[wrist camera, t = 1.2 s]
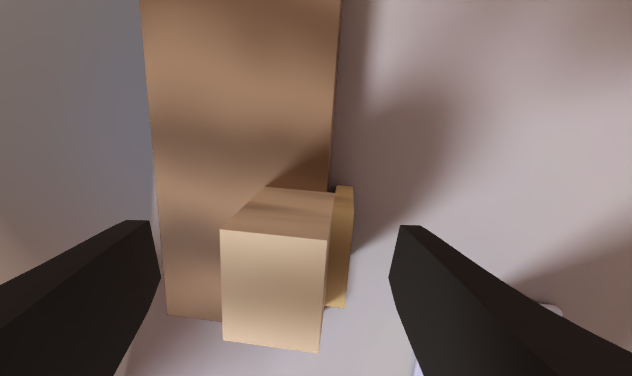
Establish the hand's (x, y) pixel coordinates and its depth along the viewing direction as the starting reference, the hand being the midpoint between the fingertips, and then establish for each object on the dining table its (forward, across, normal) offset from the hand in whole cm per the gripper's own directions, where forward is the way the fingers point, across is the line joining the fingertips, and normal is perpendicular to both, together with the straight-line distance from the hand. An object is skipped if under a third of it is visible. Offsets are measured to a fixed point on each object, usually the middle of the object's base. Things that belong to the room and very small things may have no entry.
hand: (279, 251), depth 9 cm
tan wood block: (+9, -2, +5) cm, 10 cm away
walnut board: (+11, +2, +1) cm, 11 cm away
